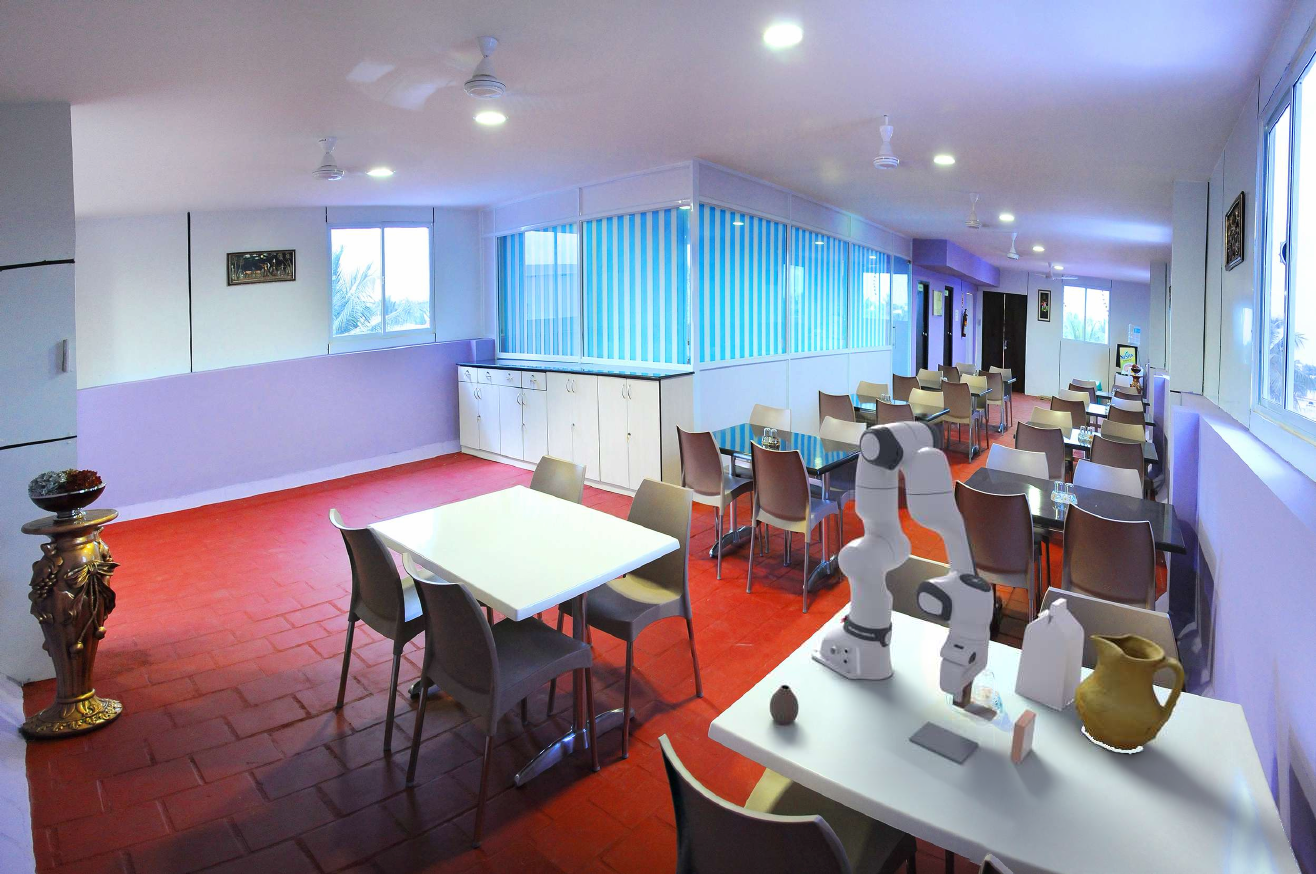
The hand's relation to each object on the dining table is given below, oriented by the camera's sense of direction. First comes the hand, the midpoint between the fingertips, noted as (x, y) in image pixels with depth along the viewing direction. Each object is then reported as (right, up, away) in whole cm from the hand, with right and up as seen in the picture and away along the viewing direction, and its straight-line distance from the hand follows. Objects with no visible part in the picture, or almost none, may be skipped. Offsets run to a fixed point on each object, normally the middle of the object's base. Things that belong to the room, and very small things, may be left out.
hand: (961, 696), depth 165 cm
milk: (+30, -6, +17) cm, 35 cm away
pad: (-6, -9, -5) cm, 12 cm away
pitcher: (+35, -10, -3) cm, 37 cm away
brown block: (+2, -3, -2) cm, 4 cm away
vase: (-43, -7, +3) cm, 43 cm away
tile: (+10, -10, -8) cm, 16 cm away
